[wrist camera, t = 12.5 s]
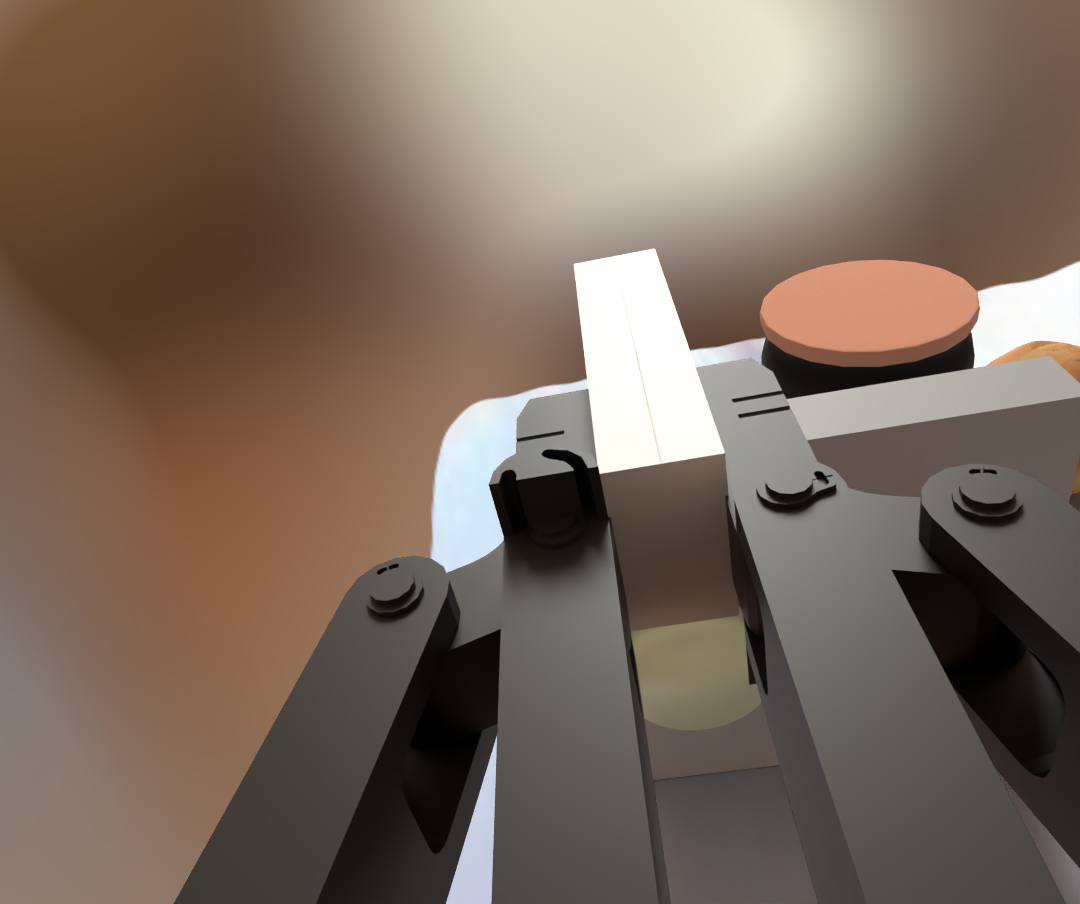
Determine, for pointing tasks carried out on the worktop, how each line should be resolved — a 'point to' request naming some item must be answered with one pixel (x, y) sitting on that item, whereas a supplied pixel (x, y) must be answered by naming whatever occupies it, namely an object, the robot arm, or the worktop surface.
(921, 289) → the coffee jar
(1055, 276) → the worktop surface
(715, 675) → the sage button
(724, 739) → the panel
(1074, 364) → the onion
